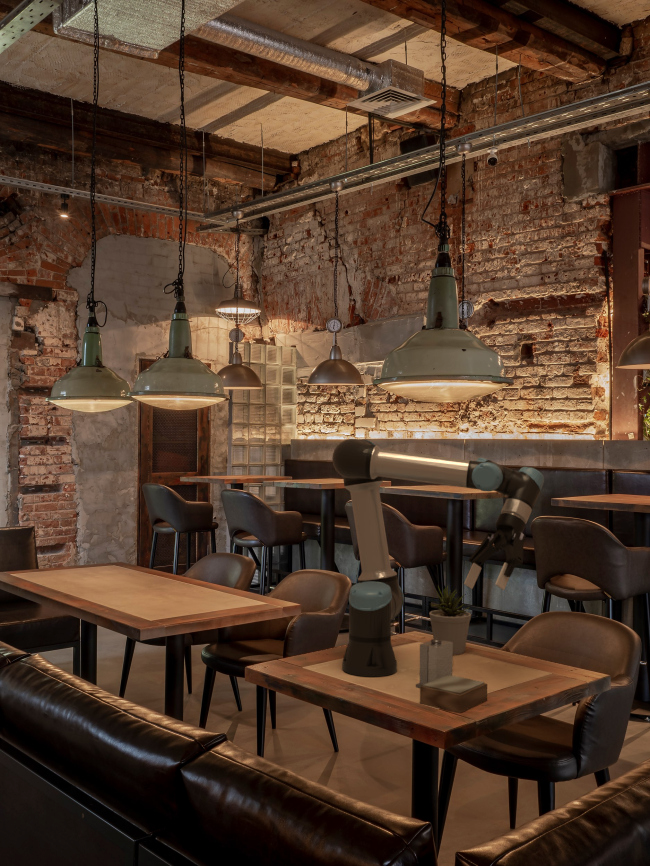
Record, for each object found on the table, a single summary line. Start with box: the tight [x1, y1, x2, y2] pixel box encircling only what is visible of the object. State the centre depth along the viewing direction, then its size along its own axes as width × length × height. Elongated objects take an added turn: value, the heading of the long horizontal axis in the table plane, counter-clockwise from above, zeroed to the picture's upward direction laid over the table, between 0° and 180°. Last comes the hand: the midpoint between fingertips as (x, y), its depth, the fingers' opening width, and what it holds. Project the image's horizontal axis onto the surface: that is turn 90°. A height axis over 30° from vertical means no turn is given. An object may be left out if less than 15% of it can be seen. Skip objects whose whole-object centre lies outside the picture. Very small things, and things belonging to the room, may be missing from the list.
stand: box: [419, 674, 488, 714], centre depth 193 cm, size 11×13×4 cm
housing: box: [415, 638, 453, 689], centre depth 206 cm, size 6×9×12 cm
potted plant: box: [429, 585, 472, 655], centre depth 244 cm, size 13×14×20 cm
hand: (483, 586), depth 212 cm, fingers open, 13 cm apart
